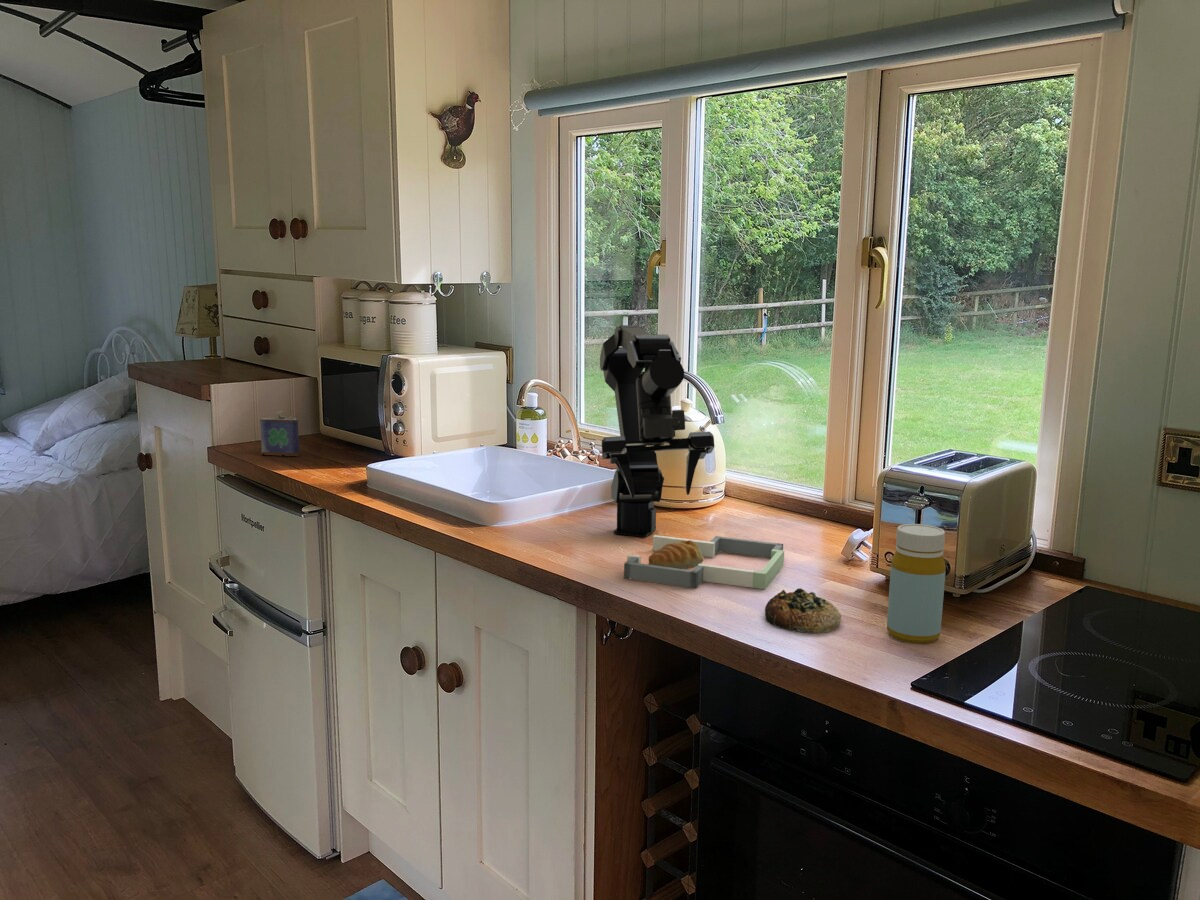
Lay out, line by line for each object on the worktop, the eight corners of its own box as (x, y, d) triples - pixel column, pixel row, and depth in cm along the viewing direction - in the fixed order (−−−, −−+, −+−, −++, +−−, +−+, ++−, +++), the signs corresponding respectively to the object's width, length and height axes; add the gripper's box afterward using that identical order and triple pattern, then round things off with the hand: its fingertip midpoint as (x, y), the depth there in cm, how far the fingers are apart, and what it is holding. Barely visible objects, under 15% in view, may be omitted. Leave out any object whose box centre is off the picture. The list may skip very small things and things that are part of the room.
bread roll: (748, 611, 144) (754, 579, 143) (810, 612, 148) (817, 580, 148) (791, 641, 134) (798, 606, 133) (856, 641, 138) (864, 607, 138)
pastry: (665, 576, 161) (666, 553, 160) (638, 566, 166) (638, 544, 165) (706, 565, 167) (707, 543, 166) (678, 556, 172) (679, 535, 171)
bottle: (878, 626, 139) (886, 523, 136) (927, 626, 139) (935, 522, 136) (897, 645, 132) (905, 537, 129) (948, 644, 132) (957, 536, 130)
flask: (260, 456, 253) (258, 411, 251) (265, 453, 256) (263, 409, 254) (297, 457, 252) (295, 412, 250) (302, 455, 255) (300, 410, 253)
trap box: (618, 577, 159) (618, 562, 158) (661, 543, 179) (662, 529, 178) (759, 597, 150) (759, 581, 150) (788, 558, 170) (789, 544, 170)
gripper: (599, 396, 160) (605, 491, 157) (714, 390, 160) (722, 484, 157) (599, 412, 171) (604, 501, 168) (707, 407, 171) (714, 495, 168)
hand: (660, 495), depth 165 cm, fingers open, 9 cm apart
